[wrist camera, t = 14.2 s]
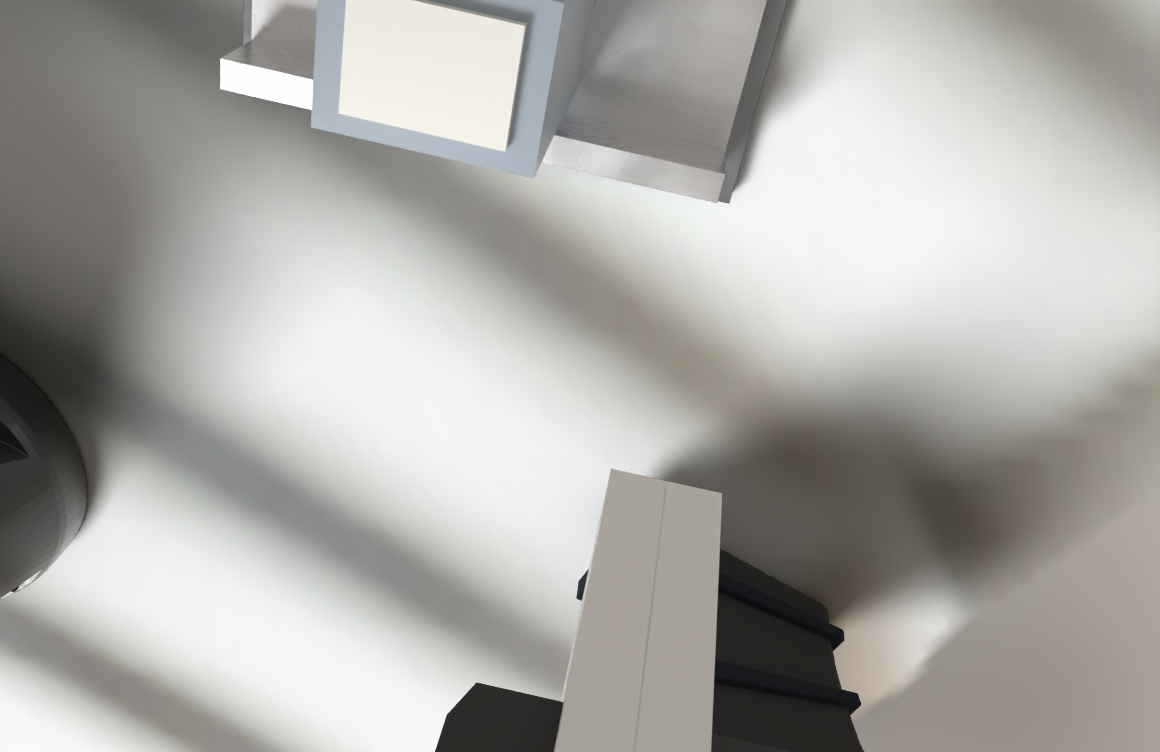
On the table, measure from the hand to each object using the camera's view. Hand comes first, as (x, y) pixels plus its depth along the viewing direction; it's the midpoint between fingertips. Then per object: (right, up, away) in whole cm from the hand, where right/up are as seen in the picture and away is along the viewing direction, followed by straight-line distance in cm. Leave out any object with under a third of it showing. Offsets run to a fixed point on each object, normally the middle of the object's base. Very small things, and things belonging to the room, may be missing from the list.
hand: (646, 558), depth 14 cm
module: (-3, +15, +19) cm, 25 cm away
